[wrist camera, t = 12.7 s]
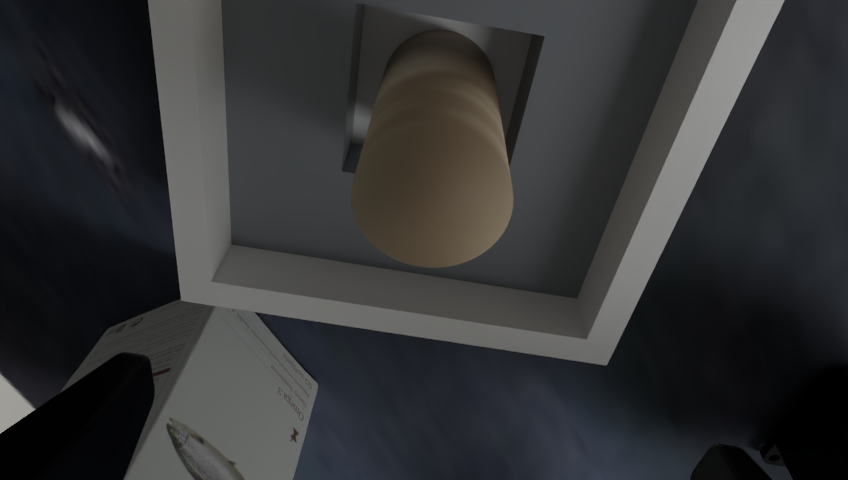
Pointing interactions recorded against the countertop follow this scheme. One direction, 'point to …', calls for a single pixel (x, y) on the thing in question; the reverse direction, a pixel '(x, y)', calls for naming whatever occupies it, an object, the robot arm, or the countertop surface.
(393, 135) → the wooden peg
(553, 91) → the grey box
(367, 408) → the countertop surface
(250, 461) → the supplement box
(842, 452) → the robot arm
